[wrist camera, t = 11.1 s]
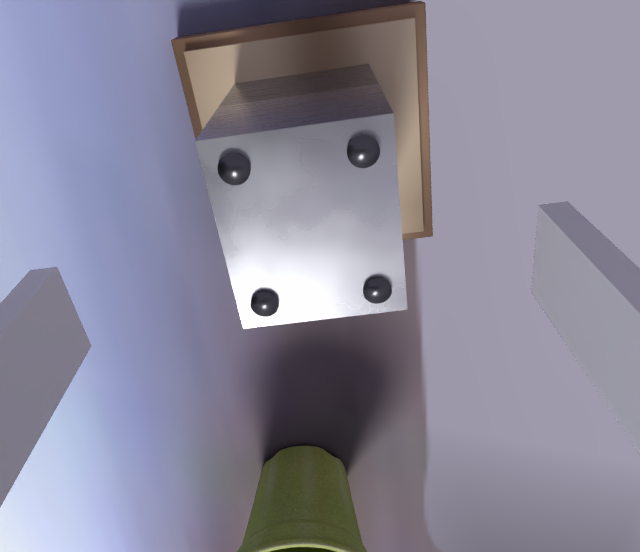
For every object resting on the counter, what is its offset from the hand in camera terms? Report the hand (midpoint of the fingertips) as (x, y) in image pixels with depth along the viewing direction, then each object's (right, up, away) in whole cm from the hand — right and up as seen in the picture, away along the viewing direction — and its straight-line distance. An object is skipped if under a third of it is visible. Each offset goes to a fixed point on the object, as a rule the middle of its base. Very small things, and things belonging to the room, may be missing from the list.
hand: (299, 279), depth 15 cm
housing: (0, +6, +11) cm, 12 cm away
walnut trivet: (0, +7, +12) cm, 14 cm away
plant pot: (-1, -14, +24) cm, 28 cm away
